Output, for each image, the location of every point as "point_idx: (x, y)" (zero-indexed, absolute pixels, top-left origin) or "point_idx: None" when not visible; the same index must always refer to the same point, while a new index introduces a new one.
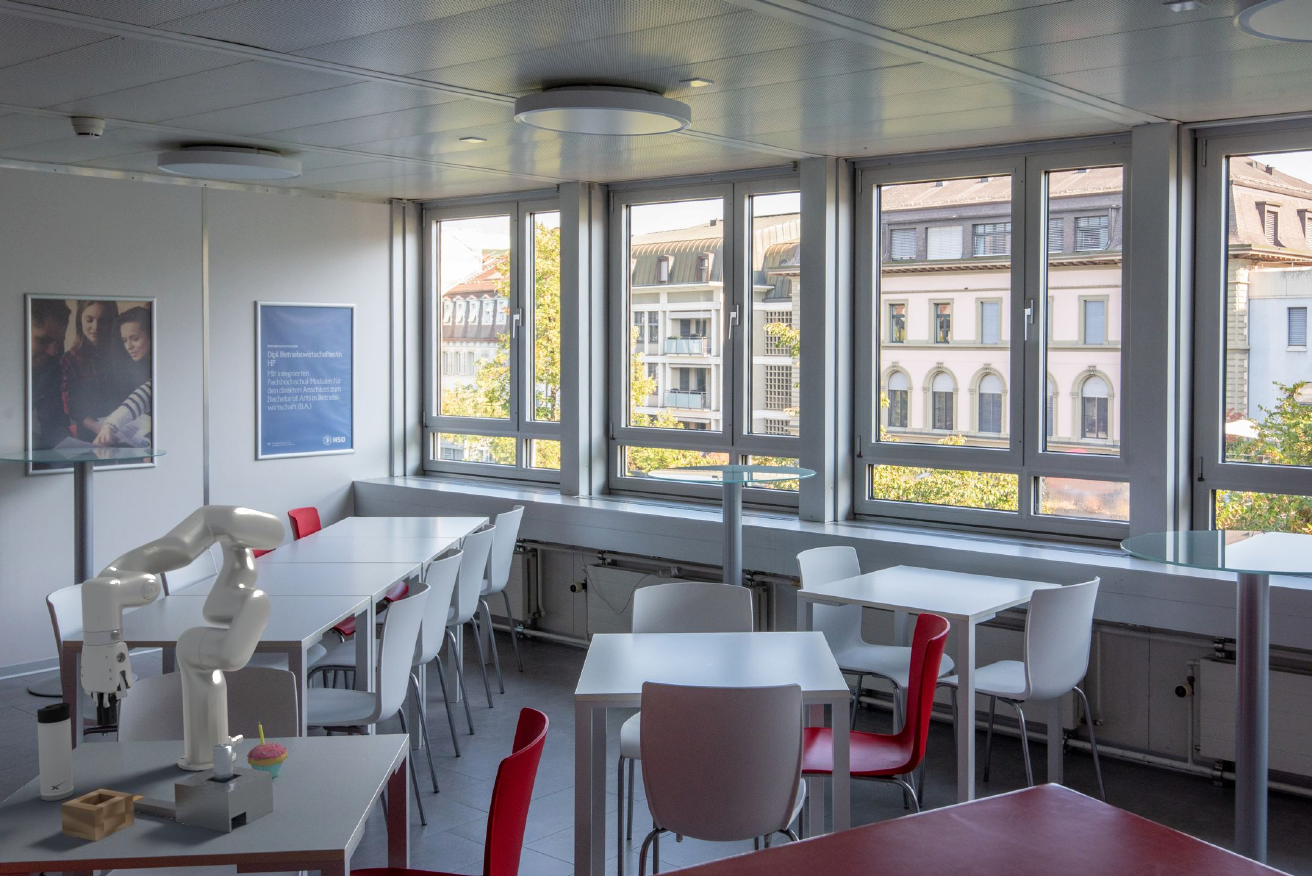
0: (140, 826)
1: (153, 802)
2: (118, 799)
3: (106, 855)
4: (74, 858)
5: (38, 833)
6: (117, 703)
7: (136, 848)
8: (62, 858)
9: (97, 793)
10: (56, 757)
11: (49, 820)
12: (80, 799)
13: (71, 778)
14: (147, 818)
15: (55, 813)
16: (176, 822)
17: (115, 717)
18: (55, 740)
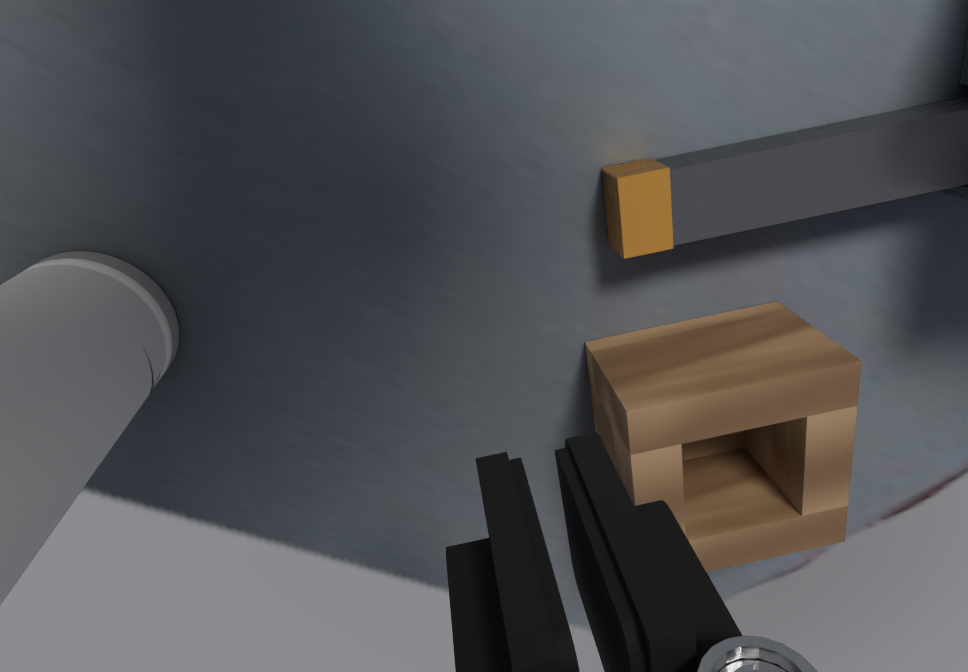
0: (822, 300)
1: (780, 188)
2: (844, 431)
3: (904, 488)
4: (821, 548)
5: None
6: (788, 661)
7: (963, 411)
8: (785, 567)
9: (676, 449)
10: (80, 488)
11: (413, 468)
12: None
13: (118, 314)
14: (781, 235)
15: (351, 424)
16: (948, 193)
17: (669, 515)
18: (7, 584)
